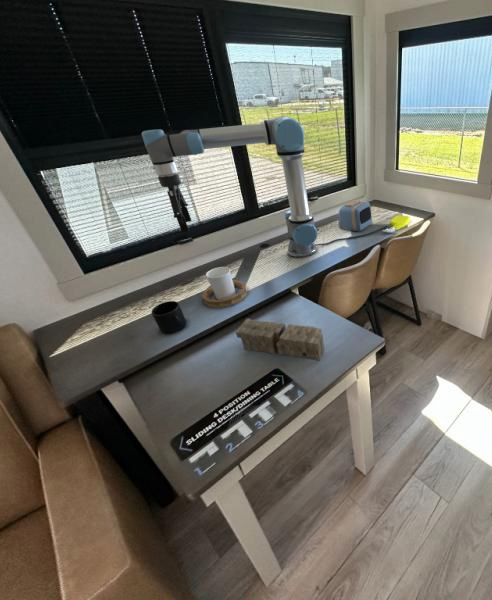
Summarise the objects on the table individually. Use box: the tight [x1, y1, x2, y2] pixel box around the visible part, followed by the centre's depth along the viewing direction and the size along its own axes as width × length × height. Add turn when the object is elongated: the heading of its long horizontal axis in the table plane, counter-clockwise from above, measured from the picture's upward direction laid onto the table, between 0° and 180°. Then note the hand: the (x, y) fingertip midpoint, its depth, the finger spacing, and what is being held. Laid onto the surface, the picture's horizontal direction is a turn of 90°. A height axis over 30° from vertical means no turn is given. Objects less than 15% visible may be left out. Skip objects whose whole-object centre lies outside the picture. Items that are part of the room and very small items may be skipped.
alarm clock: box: [338, 199, 373, 232], centre depth 195 cm, size 16×16×16 cm
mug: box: [150, 300, 188, 335], centre depth 119 cm, size 9×12×9 cm
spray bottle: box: [382, 214, 411, 234], centre depth 194 cm, size 3×11×24 cm
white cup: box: [205, 266, 237, 300], centre depth 136 cm, size 10×10×12 cm
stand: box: [202, 279, 248, 309], centre depth 138 cm, size 18×18×3 cm
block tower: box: [234, 318, 325, 361], centre depth 106 cm, size 8×8×29 cm
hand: (187, 226), depth 135 cm, fingers open, 13 cm apart
